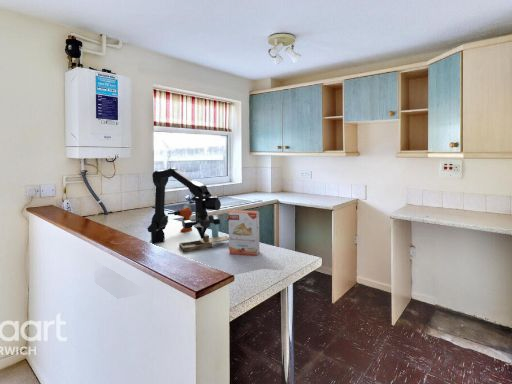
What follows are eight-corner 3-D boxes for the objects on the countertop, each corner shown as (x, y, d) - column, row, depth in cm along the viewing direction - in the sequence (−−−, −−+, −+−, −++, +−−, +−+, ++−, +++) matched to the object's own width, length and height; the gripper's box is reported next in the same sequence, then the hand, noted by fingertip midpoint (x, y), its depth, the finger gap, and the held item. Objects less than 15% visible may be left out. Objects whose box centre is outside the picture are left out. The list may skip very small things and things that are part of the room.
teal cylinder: (214, 239, 181) (213, 217, 179) (210, 238, 183) (210, 216, 182) (219, 238, 183) (219, 216, 181) (216, 237, 186) (215, 215, 184)
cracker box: (228, 254, 156) (227, 211, 153) (232, 250, 162) (231, 209, 159) (257, 256, 153) (256, 212, 150) (259, 252, 159) (259, 210, 156)
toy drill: (164, 233, 190) (165, 208, 190) (188, 230, 206) (189, 207, 205) (169, 234, 187) (170, 209, 187) (193, 231, 203) (194, 207, 202)
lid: (203, 244, 165) (203, 237, 164) (199, 240, 171) (198, 234, 171) (230, 239, 172) (230, 233, 171) (225, 236, 178) (225, 230, 178)
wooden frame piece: (183, 252, 160) (183, 247, 160) (179, 247, 168) (179, 243, 168) (212, 247, 167) (212, 243, 166) (207, 243, 174) (206, 239, 174)
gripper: (186, 213, 155) (188, 245, 157) (223, 209, 163) (224, 239, 165) (181, 210, 164) (182, 239, 167) (216, 206, 173) (217, 234, 175)
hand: (202, 238), depth 168 cm, fingers closed
